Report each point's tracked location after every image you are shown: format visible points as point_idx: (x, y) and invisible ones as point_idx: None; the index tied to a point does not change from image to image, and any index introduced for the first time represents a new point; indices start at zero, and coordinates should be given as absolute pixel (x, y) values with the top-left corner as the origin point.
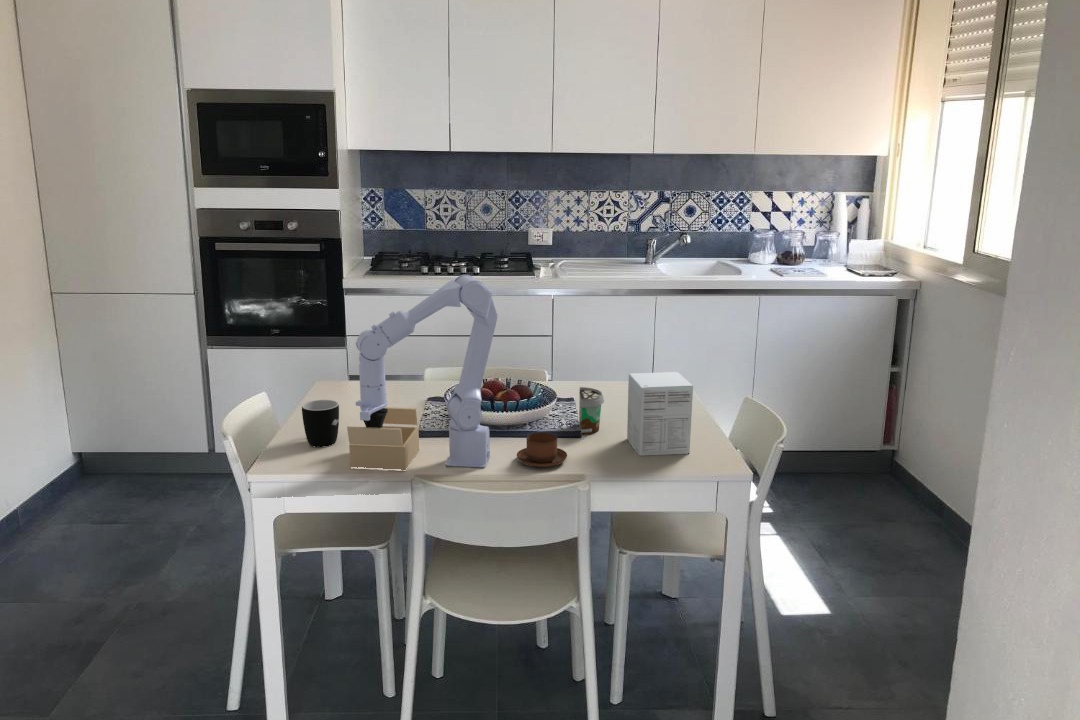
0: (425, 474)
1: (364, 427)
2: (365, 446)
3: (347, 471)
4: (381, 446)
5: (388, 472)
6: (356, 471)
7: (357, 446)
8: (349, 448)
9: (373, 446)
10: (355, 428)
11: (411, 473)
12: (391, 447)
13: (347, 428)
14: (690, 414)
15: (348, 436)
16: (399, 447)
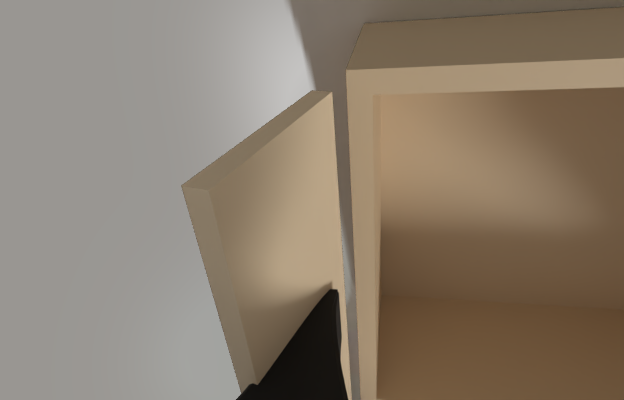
0: (350, 357)
1: (246, 368)
2: (353, 204)
3: (324, 17)
4: (357, 304)
5: (348, 236)
6: (334, 76)
7: (351, 141)
8: (349, 60)
9: (355, 258)
10: (216, 280)
11: (352, 317)
12: (359, 349)
13: (192, 184)
14: None
15: (266, 126)
16: (360, 383)
